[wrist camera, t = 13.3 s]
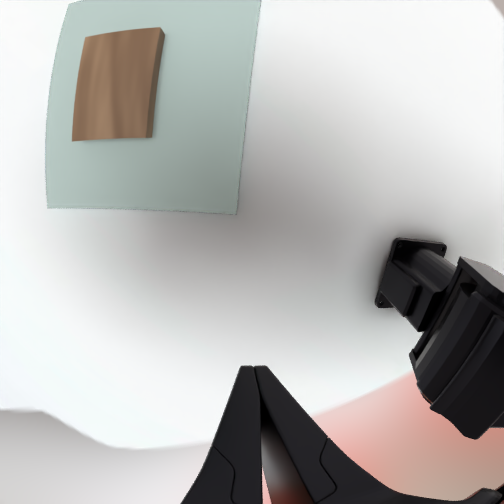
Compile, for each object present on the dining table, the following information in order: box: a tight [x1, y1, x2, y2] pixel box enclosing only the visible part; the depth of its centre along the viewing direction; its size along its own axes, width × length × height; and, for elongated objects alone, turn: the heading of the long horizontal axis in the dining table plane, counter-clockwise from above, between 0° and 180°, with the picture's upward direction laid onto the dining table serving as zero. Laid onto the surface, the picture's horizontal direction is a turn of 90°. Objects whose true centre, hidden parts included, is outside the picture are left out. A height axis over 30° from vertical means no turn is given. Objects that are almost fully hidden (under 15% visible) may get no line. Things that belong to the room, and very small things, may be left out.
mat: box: [45, 0, 261, 215], centre depth 14 cm, size 14×16×1 cm
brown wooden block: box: [72, 27, 165, 142], centre depth 13 cm, size 2×7×5 cm
